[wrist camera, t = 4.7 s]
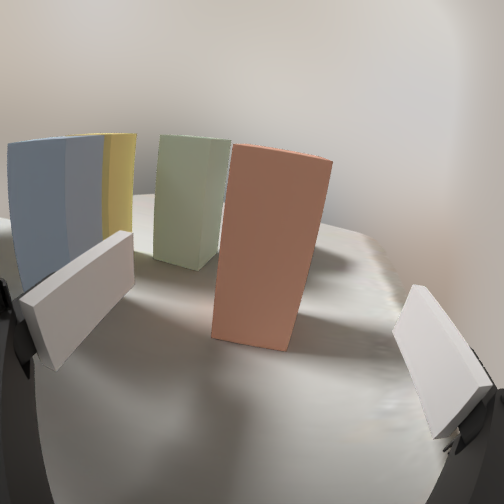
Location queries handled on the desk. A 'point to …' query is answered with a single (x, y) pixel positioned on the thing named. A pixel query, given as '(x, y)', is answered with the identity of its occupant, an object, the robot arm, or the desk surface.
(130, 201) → the mustard pillar
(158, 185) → the sage pillar
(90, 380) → the desk surface
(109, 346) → the desk surface
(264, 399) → the desk surface
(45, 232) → the slate pillar
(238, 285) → the terracotta pillar
